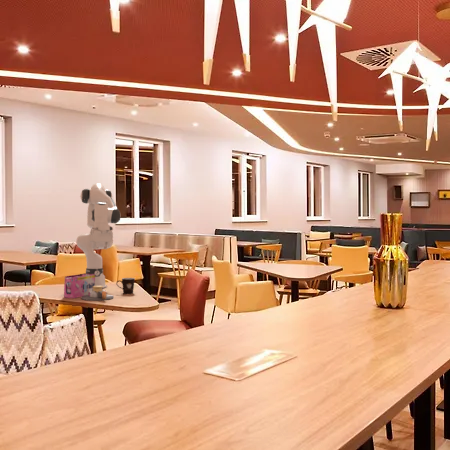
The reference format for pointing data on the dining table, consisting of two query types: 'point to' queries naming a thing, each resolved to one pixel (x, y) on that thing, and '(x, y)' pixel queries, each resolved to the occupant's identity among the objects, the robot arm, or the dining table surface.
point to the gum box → (78, 285)
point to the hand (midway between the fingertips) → (101, 249)
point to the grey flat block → (97, 294)
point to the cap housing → (97, 288)
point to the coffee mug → (127, 285)
